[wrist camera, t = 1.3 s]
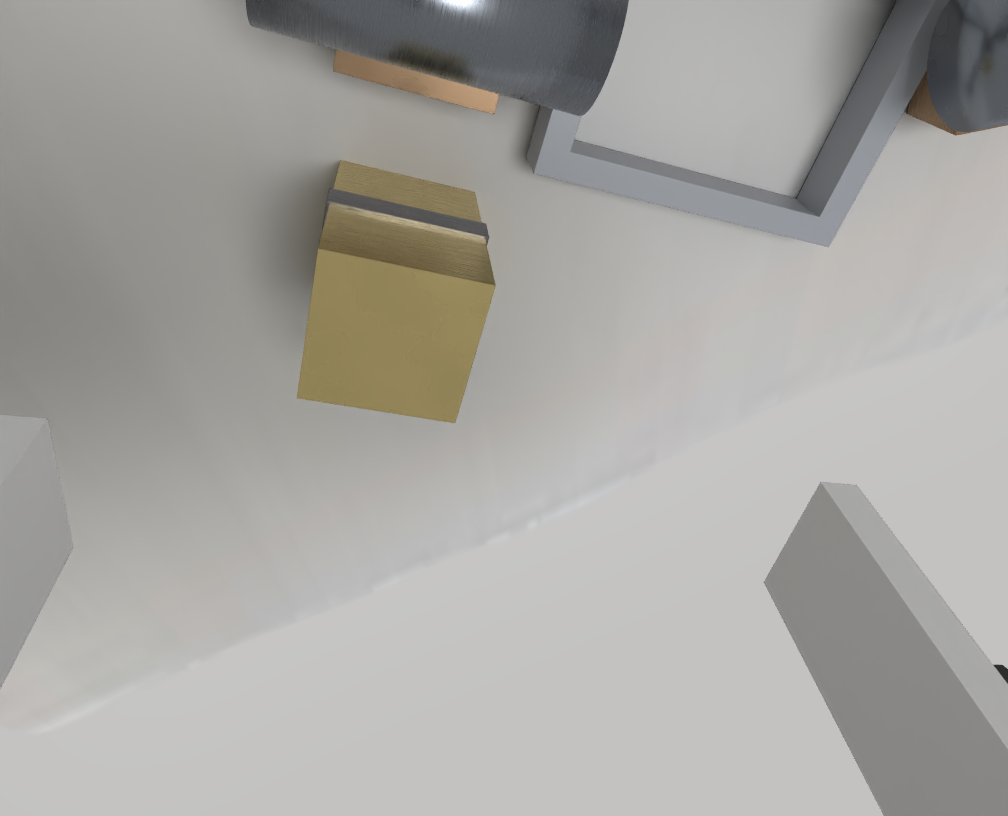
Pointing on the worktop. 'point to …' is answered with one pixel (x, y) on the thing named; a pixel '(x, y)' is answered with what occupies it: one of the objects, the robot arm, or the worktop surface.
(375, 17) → the shaft
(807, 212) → the cradle
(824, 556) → the robot arm
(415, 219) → the gold rectangular block
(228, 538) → the worktop surface
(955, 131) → the shaft
